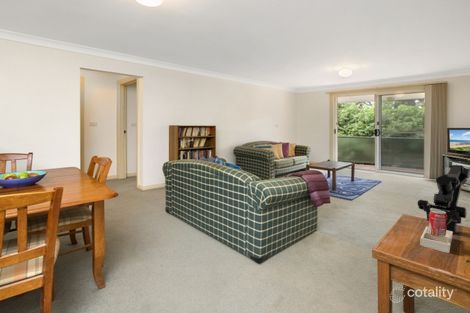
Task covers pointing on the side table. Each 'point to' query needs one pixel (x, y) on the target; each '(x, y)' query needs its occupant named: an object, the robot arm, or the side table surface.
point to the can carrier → (436, 241)
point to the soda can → (437, 223)
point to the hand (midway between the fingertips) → (436, 222)
